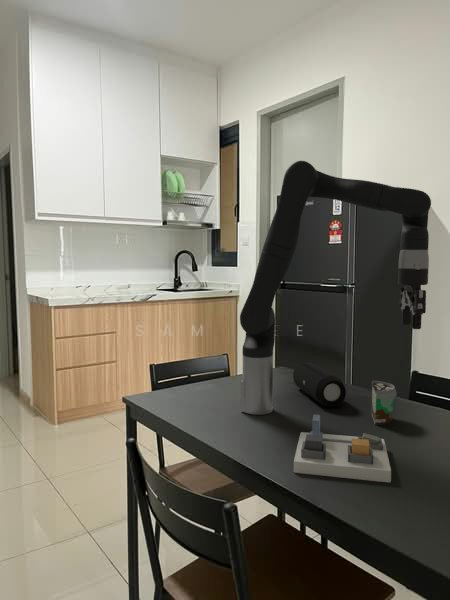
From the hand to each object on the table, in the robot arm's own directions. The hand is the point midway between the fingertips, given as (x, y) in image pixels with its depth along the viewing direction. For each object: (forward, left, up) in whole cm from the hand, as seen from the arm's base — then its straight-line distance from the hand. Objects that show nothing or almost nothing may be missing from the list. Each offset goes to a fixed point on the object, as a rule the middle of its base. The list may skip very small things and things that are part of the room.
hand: (411, 326), depth 129 cm
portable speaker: (-26, +22, -28) cm, 44 cm away
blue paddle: (-24, -22, -25) cm, 41 cm away
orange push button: (-14, -31, -24) cm, 42 cm away
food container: (-6, +4, -28) cm, 29 cm away
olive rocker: (-11, -23, -24) cm, 36 cm away
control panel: (-18, -27, -28) cm, 43 cm away
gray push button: (-24, -31, -24) cm, 46 cm away
